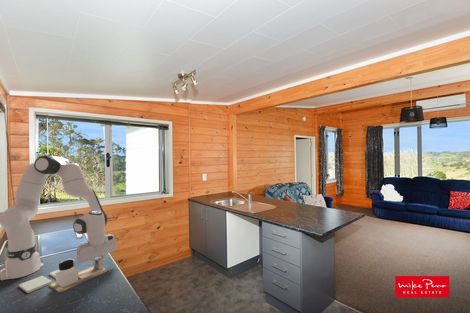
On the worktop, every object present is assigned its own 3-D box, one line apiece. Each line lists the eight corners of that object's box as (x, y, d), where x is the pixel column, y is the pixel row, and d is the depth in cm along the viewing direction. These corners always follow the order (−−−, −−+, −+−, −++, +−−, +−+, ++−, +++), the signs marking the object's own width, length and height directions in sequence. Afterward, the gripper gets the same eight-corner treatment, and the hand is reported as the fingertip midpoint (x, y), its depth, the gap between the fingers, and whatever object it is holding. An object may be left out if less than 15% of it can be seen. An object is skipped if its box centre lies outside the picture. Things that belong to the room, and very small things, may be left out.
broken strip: (19, 286, 118) (18, 274, 118) (69, 267, 137) (68, 256, 137) (27, 293, 111) (27, 280, 111) (79, 272, 130) (78, 261, 130)
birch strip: (49, 286, 117) (48, 273, 117) (95, 266, 136) (95, 256, 136) (60, 292, 111) (59, 279, 111) (107, 271, 130) (106, 260, 130)
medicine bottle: (78, 282, 119) (77, 259, 119) (63, 290, 113) (62, 265, 113) (71, 279, 123) (70, 257, 123) (55, 286, 116) (54, 262, 116)
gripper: (79, 247, 121) (80, 273, 121) (117, 234, 138) (118, 257, 138) (73, 245, 124) (75, 270, 124) (111, 233, 142) (112, 255, 142)
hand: (98, 263), depth 132 cm, fingers closed on birch strip, 2 cm apart
